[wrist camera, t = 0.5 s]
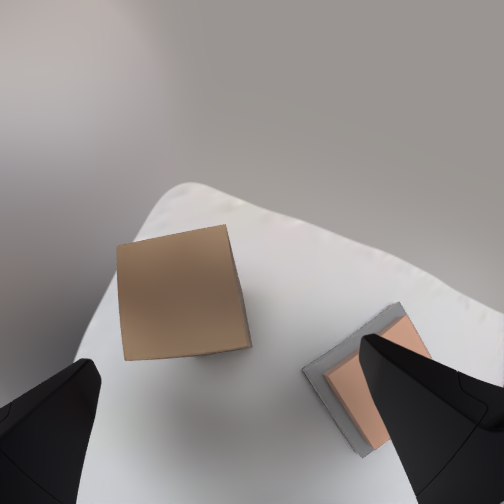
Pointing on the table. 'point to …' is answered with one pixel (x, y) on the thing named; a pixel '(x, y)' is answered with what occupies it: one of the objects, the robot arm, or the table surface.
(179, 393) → the table surface
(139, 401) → the table surface
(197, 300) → the walnut post
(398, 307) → the pedestal
